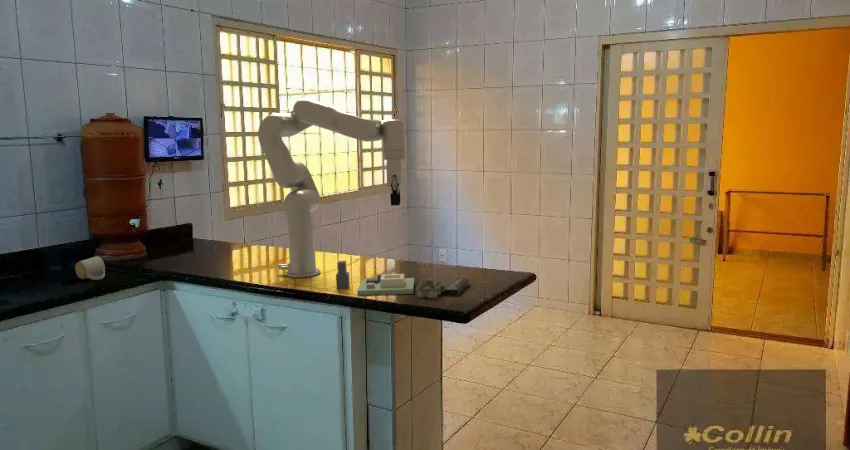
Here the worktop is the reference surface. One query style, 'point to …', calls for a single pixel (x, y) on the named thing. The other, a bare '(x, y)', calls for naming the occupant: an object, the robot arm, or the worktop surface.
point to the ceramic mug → (91, 268)
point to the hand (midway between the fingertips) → (395, 203)
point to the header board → (386, 285)
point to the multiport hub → (456, 287)
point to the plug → (342, 276)
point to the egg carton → (429, 289)
